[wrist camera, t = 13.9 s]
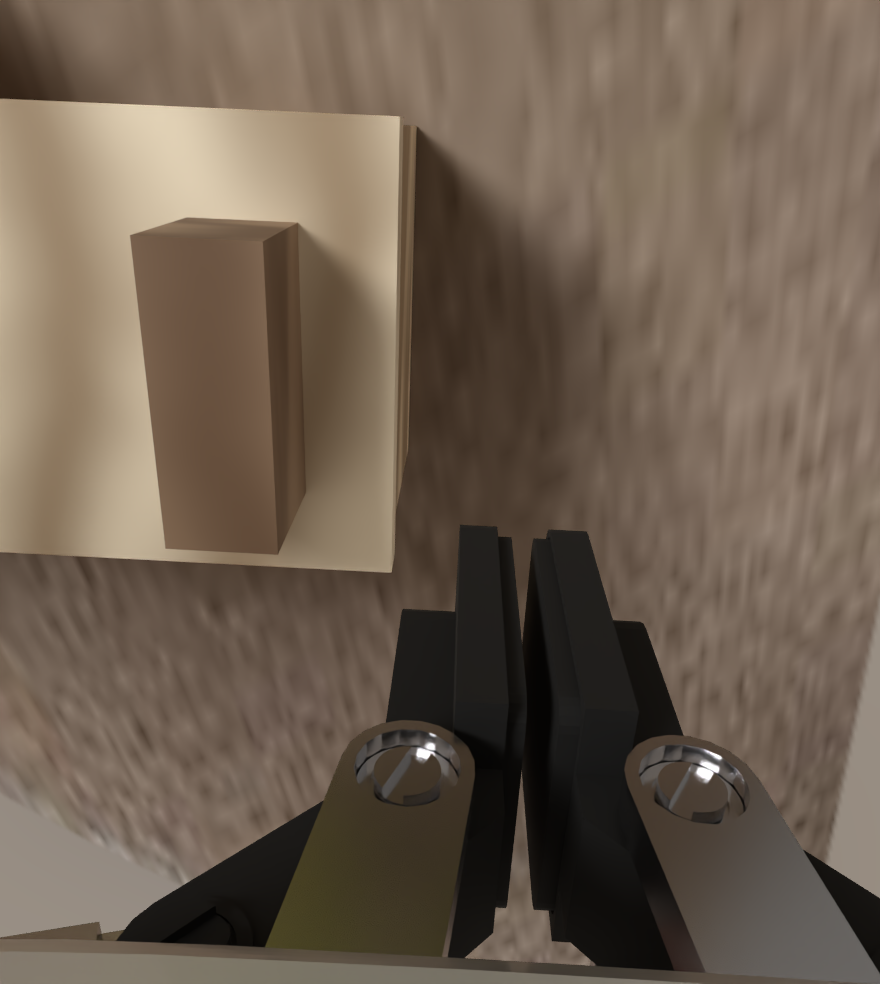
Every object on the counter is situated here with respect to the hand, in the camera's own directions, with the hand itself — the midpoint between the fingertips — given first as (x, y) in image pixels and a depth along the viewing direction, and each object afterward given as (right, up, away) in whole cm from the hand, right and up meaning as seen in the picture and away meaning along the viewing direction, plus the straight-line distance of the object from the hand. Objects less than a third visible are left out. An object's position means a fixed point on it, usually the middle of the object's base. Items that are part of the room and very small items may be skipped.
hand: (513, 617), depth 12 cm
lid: (-13, +6, +13) cm, 19 cm away
